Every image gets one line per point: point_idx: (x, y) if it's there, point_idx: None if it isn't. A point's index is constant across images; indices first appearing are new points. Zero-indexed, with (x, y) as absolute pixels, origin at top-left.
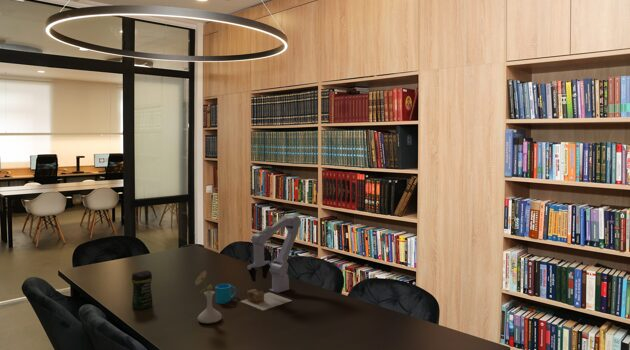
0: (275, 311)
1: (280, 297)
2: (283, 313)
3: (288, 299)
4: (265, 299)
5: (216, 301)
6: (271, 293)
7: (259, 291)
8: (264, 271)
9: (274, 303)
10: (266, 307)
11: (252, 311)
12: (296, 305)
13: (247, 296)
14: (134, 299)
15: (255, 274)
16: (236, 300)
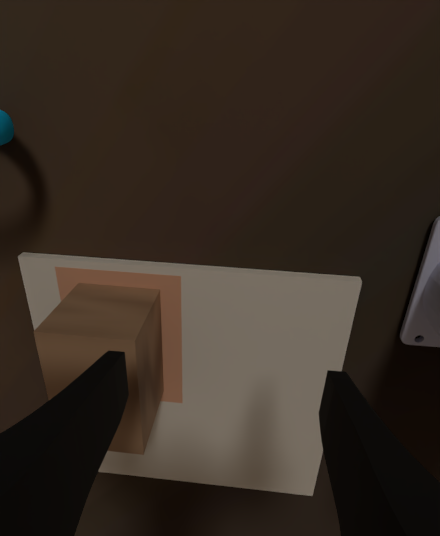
0: (125, 499)
1: (311, 420)
2: (139, 533)
3: (312, 474)
4: (200, 372)
5: None
6: (346, 318)
7: (125, 419)
8: (352, 506)
9: (191, 453)
10: (107, 457)
11: (18, 421)
12: (274, 527)
13: (63, 304)
14: None
15: (70, 519)
16: (17, 189)
